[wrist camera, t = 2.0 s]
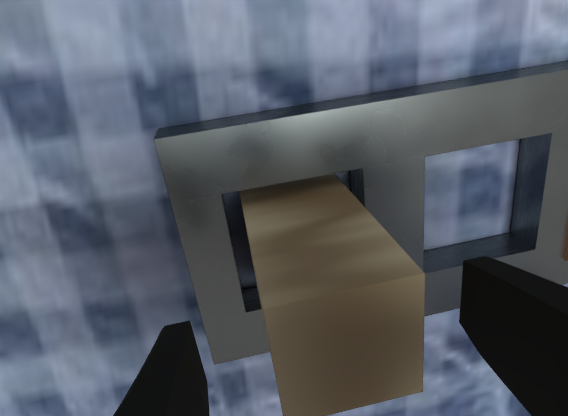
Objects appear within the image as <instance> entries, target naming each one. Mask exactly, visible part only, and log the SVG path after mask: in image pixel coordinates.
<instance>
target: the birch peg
mask: <svg viewBox="0 0 568 416" xmlns="http://www.w3.org/2000/svg"><path fill="white" fill-rule="evenodd" d="M239 194H240V199H241V204H242V209H243V215H244V220H245V225H246V231H247V236H248V241H249V246H250V252H251V257H252V262H253V268H254V273H255V278H256V283H257V288H258V293H259V298H260V303H261V308H262V313H263V318H264V323H265V328H266V333H267V337H268V342H269V347H270V352H271V357H272V362H273V367H274V372H275V377H276V382H277V387H278V392H279V397H280V402H281V407H282V412H283V416H326V415H330V414H335V413H339V412H343V411H347V410H351V409H355V408H359V407H363V406H367V405H371V404H375V403H379V402H383V401H387V400H391V399H395V398H399V397H403V396H407V395H411V394H415V393H419V392H423V360H424V297H425V273H424V272H423V271H422V270H421V269H420V268H419V266H418V265H417V264H416V263H415V262H414V261H413V260H412V259H411V258H410V257H409V255H408V254H407V253H406V252H405V251H404V250H403V249H402V248H401V247H400V246H399V244H398V243H397V242H396V241H395V240H394V239H393V238H392V237H391V236H390V234H389V233H388V232H387V231H386V230H385V229H384V228H383V227H382V226H381V225H380V223H379V222H378V221H377V220H376V219H375V218H374V217H373V216H372V215H371V214H370V212H369V211H368V210H367V209H366V208H365V207H364V206H363V205H362V204H361V203H360V201H359V200H358V199H357V198H356V197H355V196H354V195H353V194H352V193H351V192H350V190H349V189H348V188H347V187H346V186H345V185H344V184H343V183H342V182H341V181H340V179H339V178H338V177H337V176H336V175H335V174H329V175H323V176H318V177H313V178H307V179H302V180H297V181H291V182H286V183H280V184H275V185H270V186H264V187H259V188H253V189H248V190H243V191H239Z"/></svg>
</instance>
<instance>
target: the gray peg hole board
mask: <svg viewBox="0 0 568 416" xmlns="http://www.w3.org/2000/svg"><path fill="white" fill-rule="evenodd" d="M516 139H521V142H520V151H519V160H518V169H517V178H516V186H515V195H514V204H513V213H512V222H511V230H510V233H508V234H503V235H498V236H493V237H489V238H484V239H479V240H475V241H470V242H465V243H460V244H456V245H451V246H446V247H441V248H437V249H432V250H427V251H423V242H424V170H425V156H430V155H435V154H440V153H446V152H451V151H456V150H462V149H467V148H473V147H478V146H483V145H489V144H494V143H500V142H505V141H510V140H516ZM154 142H155V146H156V150H157V153H158V157H159V161H160V164H161V168H162V172H163V176H164V179H165V183H166V187H167V191H168V194H169V198H170V202H171V205H172V209H173V213H174V217H175V220H176V224H177V228H178V232H179V235H180V239H181V243H182V247H183V250H184V254H185V258H186V261H187V265H188V269H189V273H190V276H191V280H192V284H193V288H194V291H195V295H196V299H197V303H198V306H199V310H200V314H201V317H202V321H203V325H204V329H205V332H206V336H207V340H208V344H209V347H210V351H211V355H212V359H213V362H214V365H215V364H219V363H223V362H228V361H232V360H236V359H241V358H245V357H249V356H254V355H258V354H262V353H267V352H270V347H269V342H268V337H267V333H266V328H265V323H264V318H263V313H262V308H261V303H260V298H259V293H258V288H257V287H253V288H248V289H243V290H242V285H241V280H240V275H239V271H238V266H237V261H236V256H235V251H234V247H233V242H232V237H231V232H230V227H229V223H228V218H227V213H226V208H225V203H224V199H223V194H225V193H230V192H236V191H241V190H246V189H252V188H257V187H263V186H268V185H273V184H279V183H284V182H290V181H295V180H300V179H306V178H311V177H316V176H322V175H327V174H333V173H338V172H343V171H349V170H350V181H351V193H352V194H353V195H354V196H355V197H356V198H357V199H358V200H359V201H360V203H361V204H362V205H363V206H364V207H365V208H366V209H367V210H368V211H369V212H370V214H371V215H372V216H373V217H374V218H375V219H376V220H377V221H378V222H379V223H380V225H381V226H382V227H383V228H384V229H385V230H386V231H387V232H388V233H389V234H390V236H391V237H392V238H393V239H394V240H395V241H396V242H397V243H398V244H399V246H400V247H401V248H402V249H403V250H404V251H405V252H406V253H407V254H408V255H409V257H410V258H411V259H412V260H413V261H414V262H415V263H416V264H417V265H418V266H419V268H420V269H421V270H422V271H423V272H424V273H425V297H424V316H428V315H432V314H437V313H441V312H445V311H450V310H454V309H458V308H460V303H461V288H462V272H463V261H464V260H468V259H473V258H477V257H482V256H487V257H490V258H493V259H496V260H499V261H501V262H504V263H507V264H509V265H512V266H515V267H517V268H520V269H522V270H525V271H527V272H530V273H532V274H535V275H537V276H540V277H542V278H545V279H547V280H550V281H553V282H555V283H558V284H560V285H563V284H567V283H568V61H565V62H559V63H552V64H546V65H540V66H534V67H528V68H522V69H516V70H510V71H504V72H498V73H492V74H486V75H480V76H474V77H468V78H462V79H456V80H450V81H444V82H438V83H432V84H426V85H420V86H414V87H408V88H402V89H396V90H390V91H384V92H378V93H372V94H366V95H360V96H353V97H347V98H341V99H335V100H329V101H323V102H317V103H311V104H305V105H299V106H293V107H287V108H281V109H275V110H269V111H263V112H257V113H251V114H245V115H239V116H233V117H227V118H221V119H215V120H209V121H203V122H197V123H191V124H185V125H179V126H173V127H167V128H161V129H159V130H158V132H157V134H156V136H155V138H154Z"/></svg>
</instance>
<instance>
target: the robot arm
mask: <svg viewBox="0 0 568 416" xmlns="http://www.w3.org/2000/svg"><path fill="white" fill-rule="evenodd" d="M459 322H460V324H461V325H462V327H463V329H464V330H465V332H466V333H467V335H468V337H469V338H470V340H471V341H472V343H473V344H474V346H475V347H476V349H477V350H478V352H479V353H480V355H481V356H482V357H483V359H484V360H485V361H486V362H487V363H488V365H489V366H490V367H491V368H492V369H493V371H494V372H495V373H496V374H497V375H498V377H499V378H500V379H501V380H502V381H503V383H504V384H505V385H506V386H507V387H508V388H509V390H510V391H511V392H512V393H513V394H514V396H515V397H516V398H517V399H518V400H519V401H520V403H521V404H522V405H523V406H524V407H525V408H526V410H527V411H528V412H529V413H530V414H531V416H568V287H565V286H563V285H560V284H558V283H555V282H553V281H550V280H547V279H545V278H542V277H540V276H537V275H535V274H532V273H530V272H527V271H525V270H522V269H520V268H517V267H515V266H512V265H509V264H507V263H504V262H501V261H499V260H496V259H493V258H490V257H487V256H482V257H477V258H473V259H468V260H464V261H463V272H462V288H461V303H460V319H459ZM113 416H209V401H208V387H207V379H206V376H205V372H204V369H203V365H202V362H201V358H200V355H199V351H198V348H197V344H196V341H195V337H194V334H193V330H192V327H191V323H190V321H185V322H181V323H176V324H172V325H167V326H164V328H163V329H162V330H161V332H160V334H159V336H158V338H157V340H156V342H155V344H154V346H153V348H152V350H151V352H150V353H149V355H148V357H147V359H146V361H145V363H144V365H143V366H142V368H141V370H140V372H139V374H138V375H137V377H136V379H135V380H134V382H133V384H132V386H131V387H130V389H129V391H128V392H127V394H126V396H125V398H124V399H123V401H122V403H121V404H120V406H119V407H118V409H117V410H116V412H115V414H114V415H113Z"/></svg>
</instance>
